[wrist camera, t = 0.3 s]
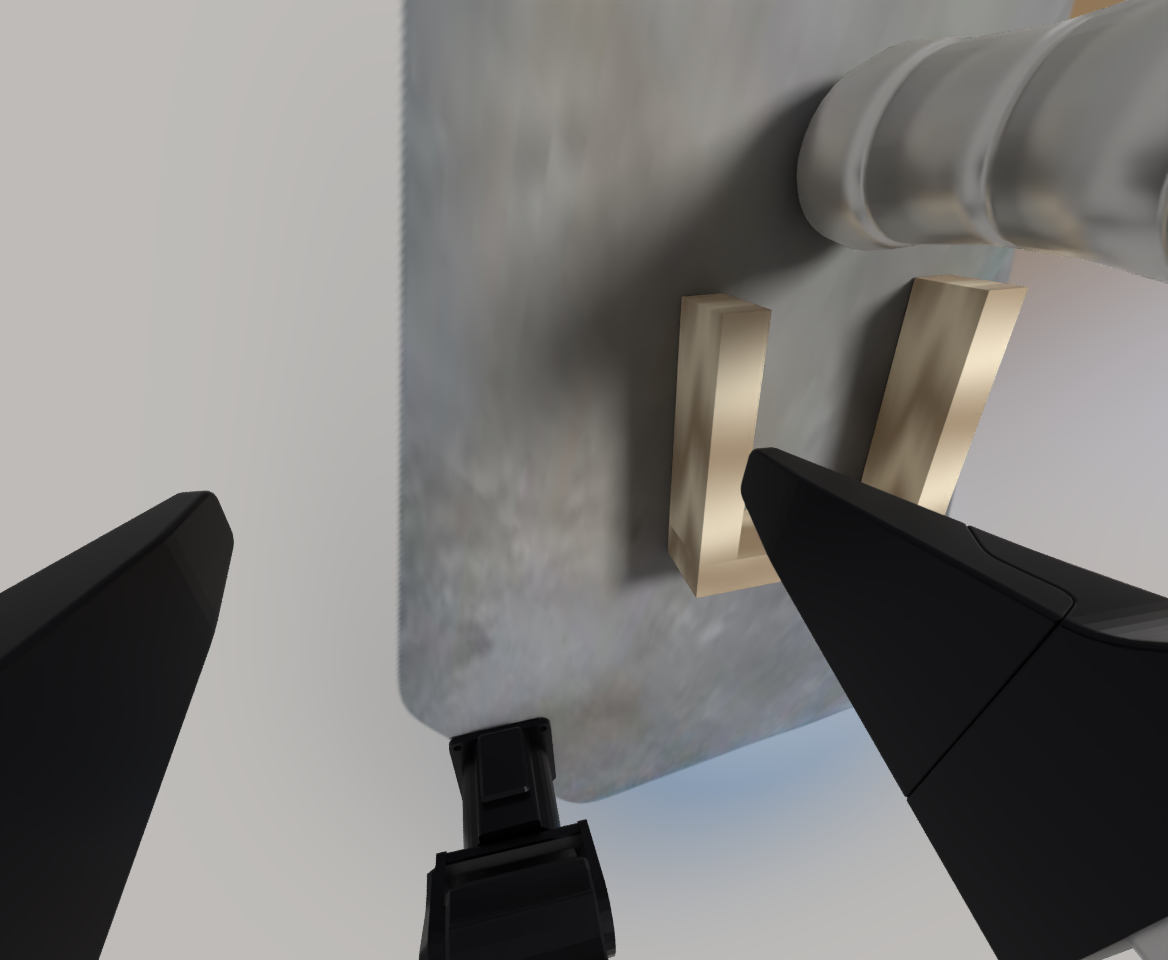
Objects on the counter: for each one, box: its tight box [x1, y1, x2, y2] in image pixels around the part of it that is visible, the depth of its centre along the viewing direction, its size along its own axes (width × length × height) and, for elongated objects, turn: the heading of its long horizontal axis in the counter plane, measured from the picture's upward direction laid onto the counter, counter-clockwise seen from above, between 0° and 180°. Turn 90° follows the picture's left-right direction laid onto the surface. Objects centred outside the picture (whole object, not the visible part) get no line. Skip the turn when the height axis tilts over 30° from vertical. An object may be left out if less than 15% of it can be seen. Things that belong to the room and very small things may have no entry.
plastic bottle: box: [797, 0, 1168, 283], centre depth 13 cm, size 6×7×20 cm
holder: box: [668, 275, 1028, 598], centre depth 26 cm, size 14×14×4 cm
